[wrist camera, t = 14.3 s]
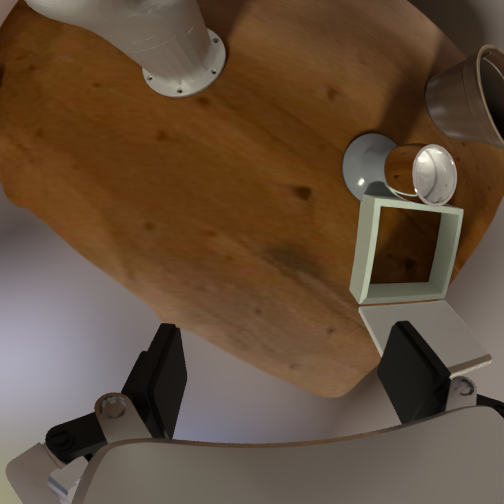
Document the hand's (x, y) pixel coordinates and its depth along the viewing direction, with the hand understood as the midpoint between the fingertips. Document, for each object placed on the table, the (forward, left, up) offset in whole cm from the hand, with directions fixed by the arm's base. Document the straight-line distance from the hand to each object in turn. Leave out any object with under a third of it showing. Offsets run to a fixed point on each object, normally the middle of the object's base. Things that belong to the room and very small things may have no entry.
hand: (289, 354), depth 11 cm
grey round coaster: (-8, +17, -30) cm, 36 cm away
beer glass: (-8, +17, -30) cm, 35 cm away
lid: (+13, +24, -17) cm, 32 cm away
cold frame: (+4, +24, -30) cm, 39 cm away
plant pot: (-22, +33, -31) cm, 50 cm away
